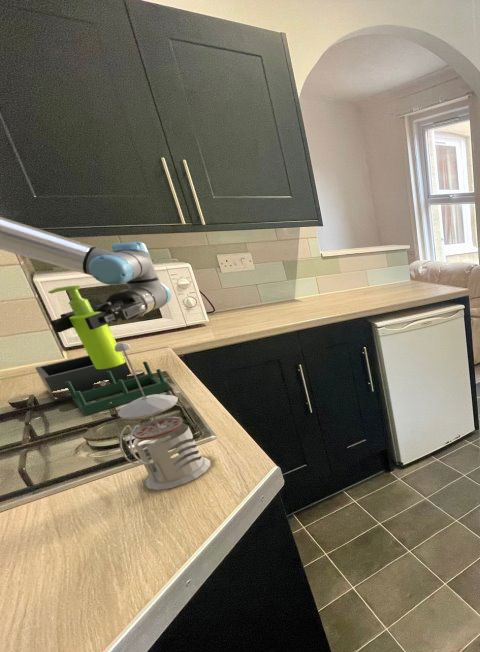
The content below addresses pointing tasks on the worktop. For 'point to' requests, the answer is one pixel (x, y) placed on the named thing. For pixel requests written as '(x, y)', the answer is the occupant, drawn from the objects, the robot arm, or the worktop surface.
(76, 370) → the basin
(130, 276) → the robot arm
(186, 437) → the french press
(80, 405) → the dish rack
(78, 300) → the soap dispenser
